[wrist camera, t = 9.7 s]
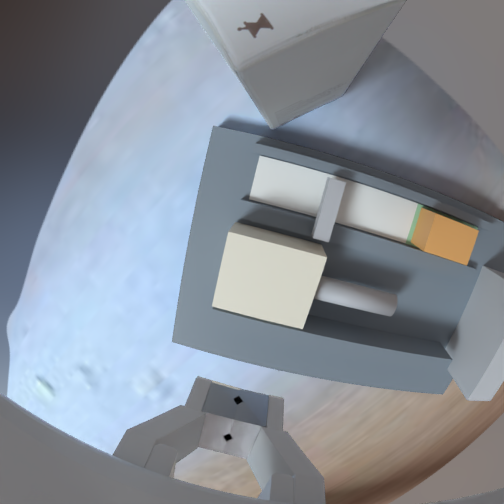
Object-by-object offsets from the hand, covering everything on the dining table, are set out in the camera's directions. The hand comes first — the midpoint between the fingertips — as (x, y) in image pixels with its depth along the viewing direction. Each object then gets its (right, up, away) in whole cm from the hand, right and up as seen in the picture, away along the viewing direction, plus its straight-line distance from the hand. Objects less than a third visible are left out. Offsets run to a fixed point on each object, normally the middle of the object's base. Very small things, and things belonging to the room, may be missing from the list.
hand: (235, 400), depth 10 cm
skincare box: (+2, +18, +10) cm, 21 cm away
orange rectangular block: (+14, +6, +10) cm, 19 cm away
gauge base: (+9, +3, +13) cm, 16 cm away
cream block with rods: (+5, +5, +11) cm, 14 cm away
